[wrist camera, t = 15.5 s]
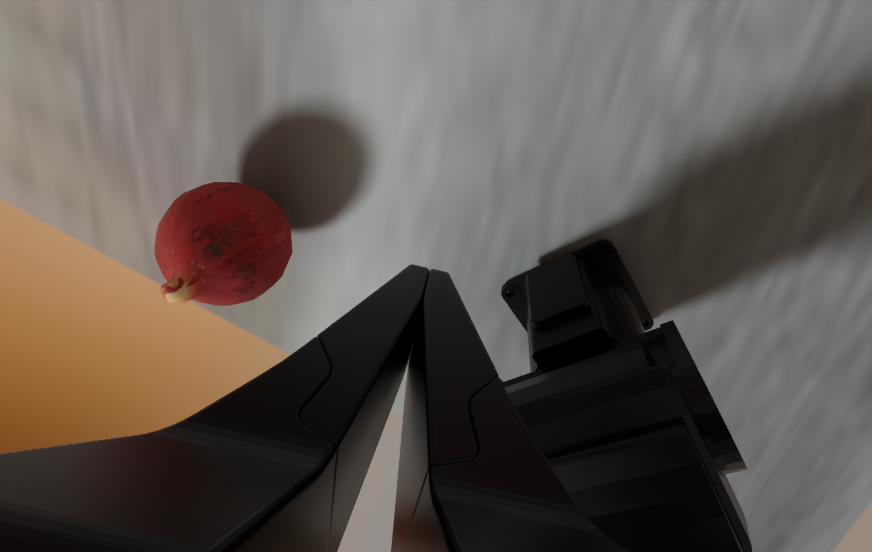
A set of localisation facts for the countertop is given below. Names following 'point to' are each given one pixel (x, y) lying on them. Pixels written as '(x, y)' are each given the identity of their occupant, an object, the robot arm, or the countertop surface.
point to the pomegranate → (222, 245)
